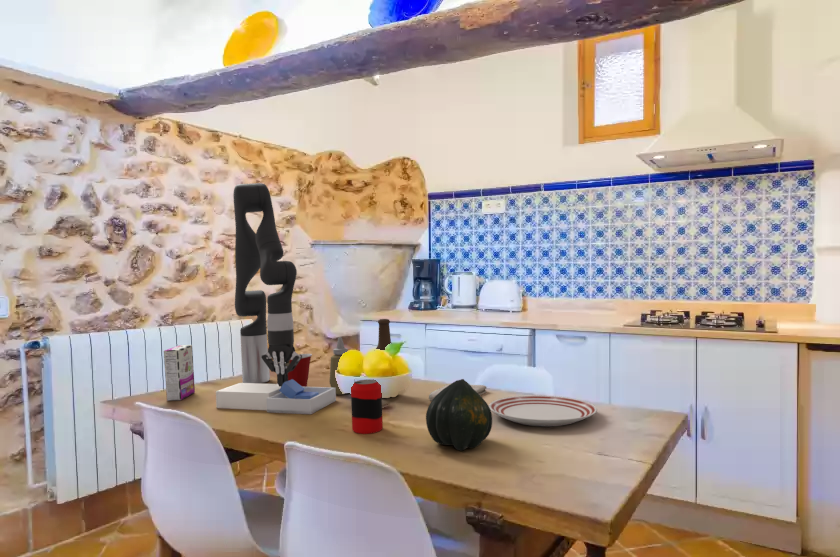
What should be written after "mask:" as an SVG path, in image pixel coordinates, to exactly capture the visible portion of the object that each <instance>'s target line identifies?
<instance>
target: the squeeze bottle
mask: <svg viewBox="0 0 840 557" xmlns="http://www.w3.org/2000/svg"><path fill="white" fill-rule="evenodd" d="M332 350H333V355H331V357H330V365H329V366H330V368H329V369H330V370H329V385H330V387H332V388H336V395H338V396H339V395H342V396H343V394H342V392H341V391H340V389H339V387H338V384H337V381H336V378H335V370H337V367H338V362H339V359H340V357H341V356H342V354H343V353H345V352H347V351H348V352H349V348H348V347H345V344H344V341H343V337H341V336H339V337H338V338H337V343H336V348H333V349H332Z"/></svg>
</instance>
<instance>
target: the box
mask: <svg viewBox="0 0 840 557" xmlns="http://www.w3.org/2000/svg"><path fill="white" fill-rule="evenodd" d="M303 388H305V390H304V392H319V395H317V396H315V397H313V398H311V399H289V398H288V397H287V396H285V395H284V394H283V393H281V392H280V393H278V394H275V395H273V396H271V397H268V398H266V399H267V410H266V413H275V414H276V413H277V414H293V415H294V414H295V415H296V414H297V415H313V414H315V413H316V412H318V411H320V410H322V409H324V408H325V407H327V406H329V405H330V404H333V403H335V402H336V401H337V394H336V388H332V387H331V386H329V387H328V386H327V387H325V386H324V387H323V386H322V387H321V386H307V387H303Z"/></svg>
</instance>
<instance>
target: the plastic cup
mask: <svg viewBox="0 0 840 557" xmlns="http://www.w3.org/2000/svg"><path fill="white" fill-rule="evenodd" d="M297 354H298V355H300V354H301V355H302V358H301V360H300V361H299V363H298V364H297V366H296V367H295V369H294V370H293V371H290V372H289V373H288V381H289V380H291V379H293V380H294V381H296V382H297V383H298V384H300V385H301V386H302V387H308V380H309V372H310V366H311V365H310V364H311V358H312V356H313V354H312V353H297ZM291 361H292V357H291V359H290V363H291Z"/></svg>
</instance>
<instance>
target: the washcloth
mask: <svg viewBox="0 0 840 557" xmlns="http://www.w3.org/2000/svg"><path fill="white" fill-rule="evenodd" d="M449 385H450V384H446V385H444V386H442V387H439V388H437V389H436V390H433V391H431V392H429V393H430V394H429V395H428V400H429V401H430V402H431V401H432V400H433V399H434V397H435V396H436V395H437V394H438V393H439V392H441V391H442V390H443V389H444V388H446V387H447V386H449ZM469 385H470V386H471V387H472V388H473V389H474V390H475V391H476V392H477V393H478V394H479V395H480V396H482V395H483V394H486V393H487V387H488V386H486V385H484V384H483V385H482V384H469Z"/></svg>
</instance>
